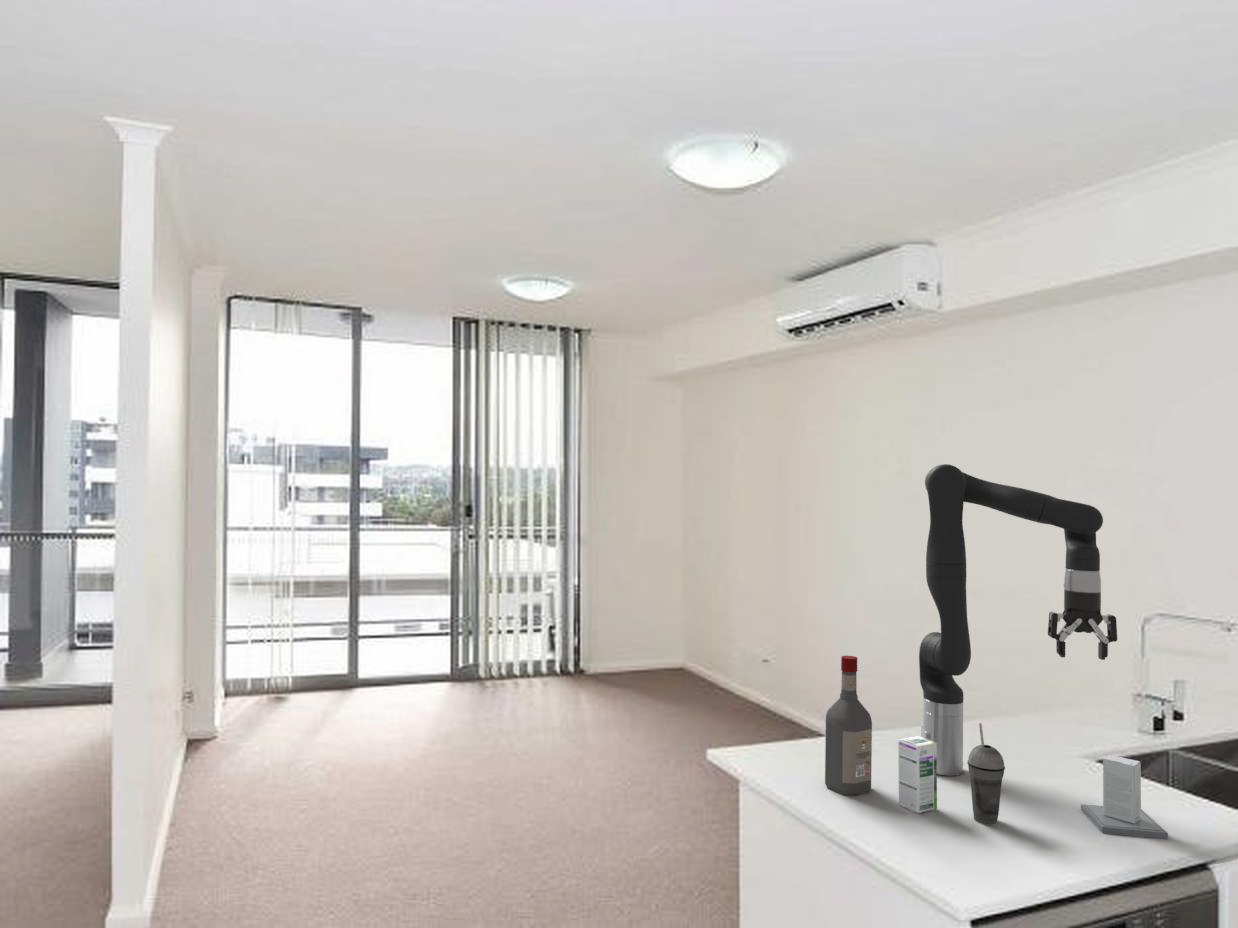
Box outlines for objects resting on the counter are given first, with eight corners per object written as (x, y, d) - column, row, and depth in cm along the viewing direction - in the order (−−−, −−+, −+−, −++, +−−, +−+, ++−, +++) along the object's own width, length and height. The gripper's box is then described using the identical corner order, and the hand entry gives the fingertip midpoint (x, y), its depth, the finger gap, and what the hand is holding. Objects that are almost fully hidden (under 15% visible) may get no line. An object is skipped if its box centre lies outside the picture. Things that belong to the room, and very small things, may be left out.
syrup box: (918, 814, 174) (919, 745, 174) (897, 804, 179) (897, 737, 179) (937, 809, 176) (938, 742, 177) (916, 799, 182) (916, 734, 182)
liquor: (877, 790, 187) (878, 659, 187) (848, 798, 182) (850, 663, 182) (846, 777, 194) (848, 651, 195) (819, 784, 190) (820, 655, 190)
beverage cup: (1002, 830, 166) (1003, 731, 167) (963, 821, 170) (964, 725, 170) (1006, 818, 172) (1007, 723, 173) (969, 810, 176) (970, 717, 177)
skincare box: (1141, 819, 170) (1141, 761, 170) (1134, 824, 167) (1135, 765, 167) (1109, 809, 174) (1109, 753, 175) (1102, 815, 172) (1102, 757, 172)
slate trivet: (1102, 832, 166) (1102, 826, 166) (1080, 809, 178) (1080, 803, 178) (1167, 838, 164) (1167, 832, 164) (1141, 814, 175) (1141, 808, 175)
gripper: (1054, 589, 190) (1054, 659, 190) (1122, 592, 187) (1121, 663, 187) (1044, 585, 197) (1044, 652, 197) (1109, 588, 195) (1108, 656, 194)
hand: (1081, 657), depth 192 cm, fingers open, 8 cm apart
